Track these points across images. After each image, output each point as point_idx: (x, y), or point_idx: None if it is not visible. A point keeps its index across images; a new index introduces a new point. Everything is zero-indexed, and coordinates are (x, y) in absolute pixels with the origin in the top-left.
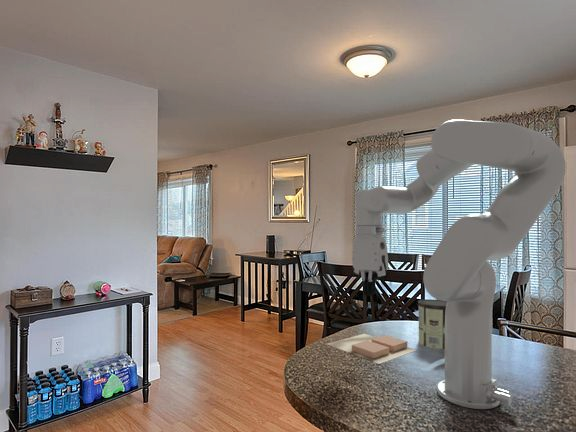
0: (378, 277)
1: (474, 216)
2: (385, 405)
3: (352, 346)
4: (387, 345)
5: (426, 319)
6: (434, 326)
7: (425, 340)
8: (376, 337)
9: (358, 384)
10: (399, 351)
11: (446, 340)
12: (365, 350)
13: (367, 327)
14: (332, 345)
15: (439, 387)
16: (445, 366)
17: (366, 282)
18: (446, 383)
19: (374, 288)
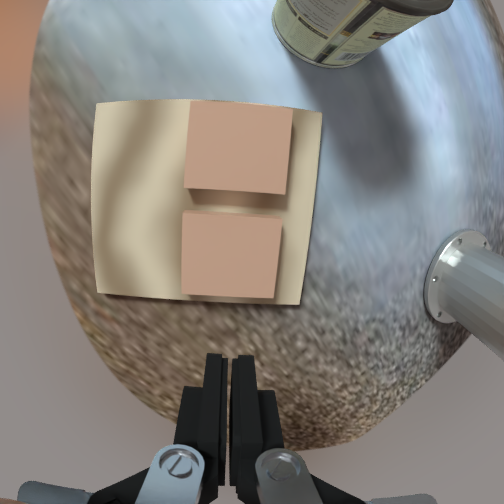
0: (340, 491)
1: None
2: (369, 394)
3: (185, 292)
4: (258, 191)
5: (363, 29)
6: (381, 40)
7: (327, 55)
8: (149, 101)
9: (305, 384)
10: (290, 169)
11: (497, 354)
12: (240, 296)
13: (62, 27)
14: (116, 290)
15: (431, 306)
16: (463, 322)
17: (224, 483)
18: (448, 312)
19: (276, 417)
